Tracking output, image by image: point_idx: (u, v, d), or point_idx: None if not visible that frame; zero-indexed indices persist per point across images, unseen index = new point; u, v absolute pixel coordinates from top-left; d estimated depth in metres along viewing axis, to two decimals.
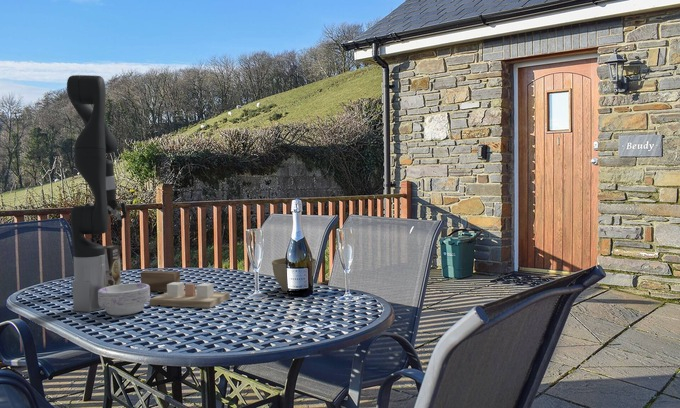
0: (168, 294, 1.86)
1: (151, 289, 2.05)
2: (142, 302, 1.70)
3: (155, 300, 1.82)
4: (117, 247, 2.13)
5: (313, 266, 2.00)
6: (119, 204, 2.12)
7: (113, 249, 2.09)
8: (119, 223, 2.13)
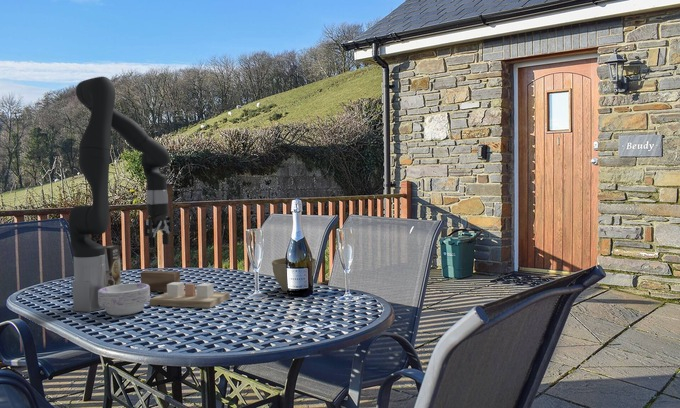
0: (168, 294, 1.86)
1: (151, 289, 2.05)
2: (142, 302, 1.70)
3: (155, 300, 1.82)
4: (117, 247, 2.13)
5: (313, 266, 2.00)
6: None
7: (113, 249, 2.09)
8: (149, 241, 2.02)
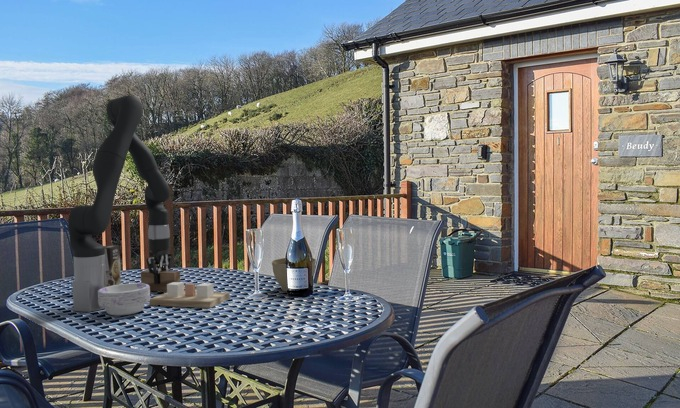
0: (168, 294, 1.86)
1: (151, 289, 2.06)
2: (142, 302, 1.70)
3: (155, 300, 1.82)
4: (117, 247, 2.13)
5: (313, 266, 2.00)
6: None
7: (113, 249, 2.09)
8: (154, 277, 2.04)
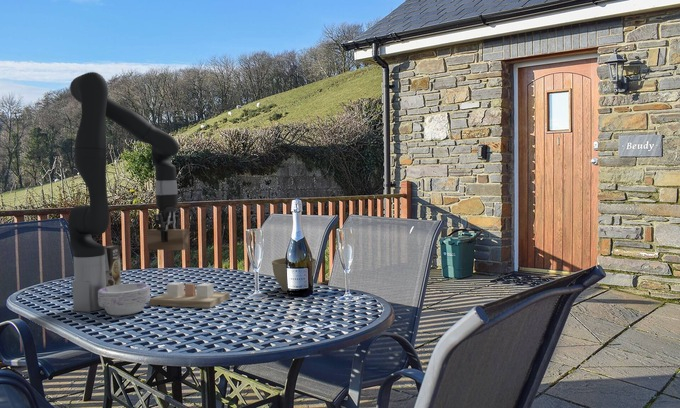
0: (168, 294, 1.86)
1: (158, 247, 1.98)
2: (142, 302, 1.70)
3: (155, 300, 1.82)
4: (117, 247, 2.13)
5: (313, 266, 2.00)
6: None
7: (113, 249, 2.09)
8: None
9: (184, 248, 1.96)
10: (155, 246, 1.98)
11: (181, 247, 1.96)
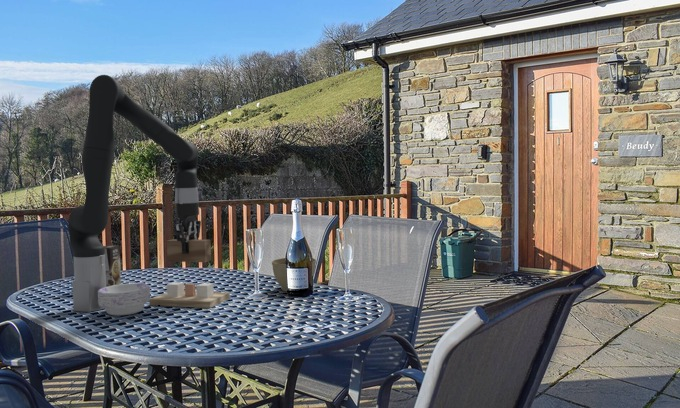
0: (168, 294, 1.86)
1: (179, 259, 1.85)
2: (142, 302, 1.70)
3: (155, 300, 1.82)
4: (117, 247, 2.13)
5: (313, 266, 2.00)
6: None
7: (113, 249, 2.09)
8: (182, 246, 1.84)
9: (206, 260, 1.84)
10: (175, 258, 1.85)
11: (203, 259, 1.83)
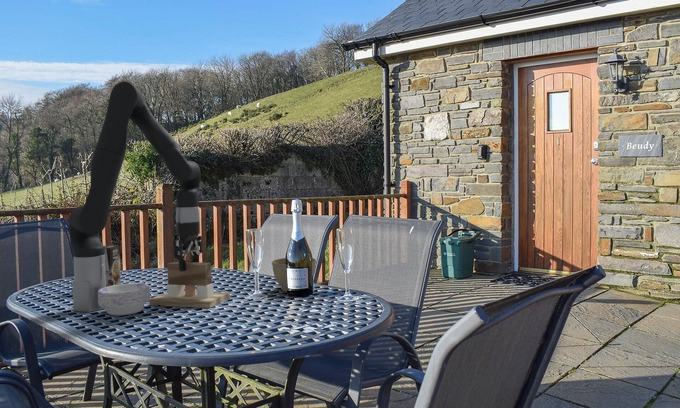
0: (168, 294, 1.86)
1: (179, 282, 1.85)
2: (142, 302, 1.70)
3: (155, 300, 1.82)
4: (117, 247, 2.13)
5: (313, 266, 2.00)
6: None
7: (113, 249, 2.09)
8: (179, 263, 1.82)
9: (207, 283, 1.84)
10: (176, 281, 1.85)
11: (204, 282, 1.83)
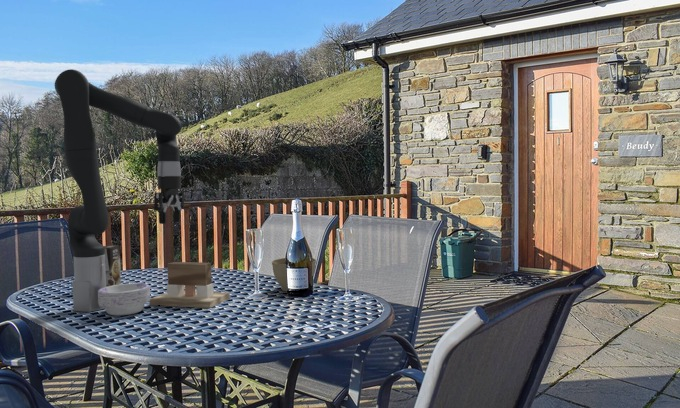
0: (168, 294, 1.86)
1: (179, 282, 1.85)
2: (142, 302, 1.70)
3: (155, 300, 1.82)
4: (117, 247, 2.13)
5: (313, 266, 2.00)
6: None
7: (113, 249, 2.09)
8: None
9: (207, 283, 1.84)
10: (176, 281, 1.85)
11: (204, 282, 1.83)
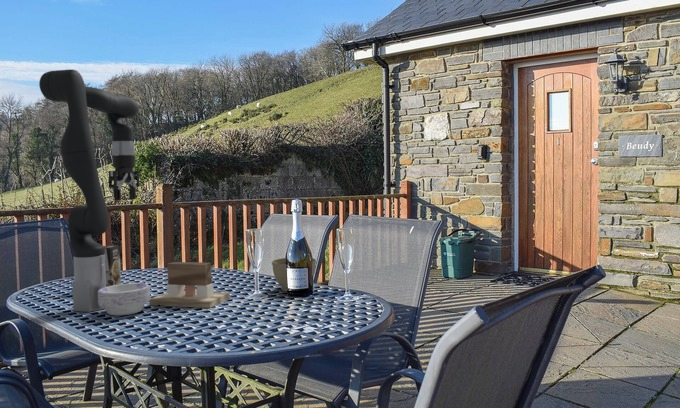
0: (168, 294, 1.86)
1: (179, 282, 1.85)
2: (142, 302, 1.70)
3: (155, 300, 1.82)
4: (117, 247, 2.13)
5: (313, 266, 2.00)
6: None
7: (113, 249, 2.09)
8: (114, 193, 1.95)
9: (207, 283, 1.84)
10: (176, 281, 1.85)
11: (204, 282, 1.83)
